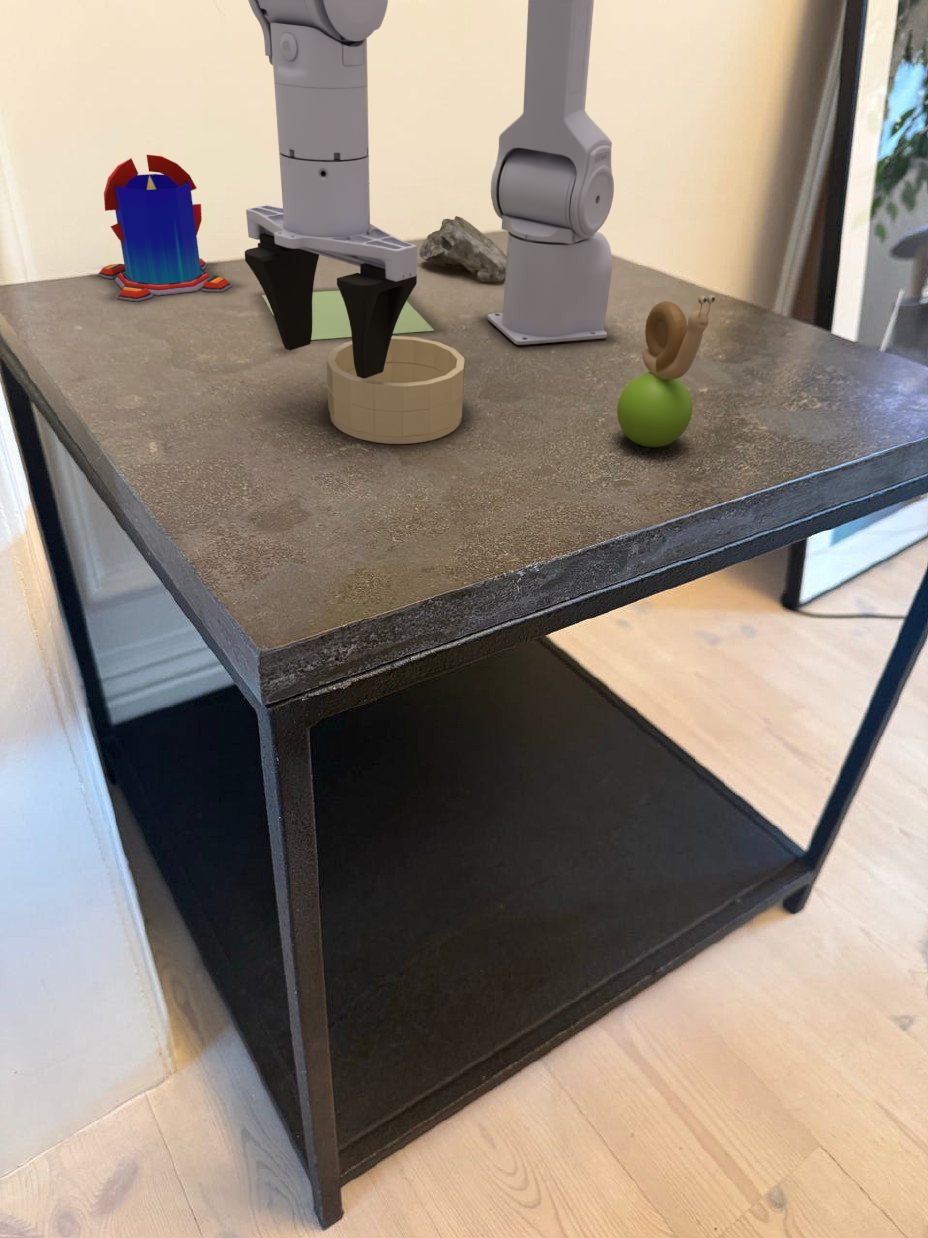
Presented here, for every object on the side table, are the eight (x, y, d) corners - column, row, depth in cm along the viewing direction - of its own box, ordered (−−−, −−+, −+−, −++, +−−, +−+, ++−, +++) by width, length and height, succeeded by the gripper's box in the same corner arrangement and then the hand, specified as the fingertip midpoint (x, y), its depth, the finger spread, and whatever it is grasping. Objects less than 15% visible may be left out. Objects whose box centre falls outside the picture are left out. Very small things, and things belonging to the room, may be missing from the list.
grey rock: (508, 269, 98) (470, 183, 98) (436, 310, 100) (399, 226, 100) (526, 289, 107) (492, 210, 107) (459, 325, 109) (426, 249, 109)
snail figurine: (644, 470, 65) (675, 299, 58) (599, 433, 70) (621, 271, 63) (707, 459, 67) (744, 293, 60) (658, 424, 72) (687, 266, 65)
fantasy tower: (121, 303, 90) (97, 169, 82) (94, 271, 98) (70, 146, 91) (237, 290, 95) (224, 162, 87) (203, 260, 103) (188, 141, 96)
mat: (393, 287, 98) (393, 287, 98) (434, 330, 87) (434, 330, 87) (262, 295, 93) (261, 295, 93) (287, 341, 83) (287, 341, 83)
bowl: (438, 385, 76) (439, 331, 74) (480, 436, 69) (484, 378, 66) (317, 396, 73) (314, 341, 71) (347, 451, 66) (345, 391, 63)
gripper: (202, 142, 60) (225, 347, 68) (360, 179, 52) (364, 403, 60) (284, 133, 64) (297, 325, 72) (440, 165, 57) (435, 375, 65)
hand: (332, 359), depth 67 cm, fingers open, 7 cm apart
